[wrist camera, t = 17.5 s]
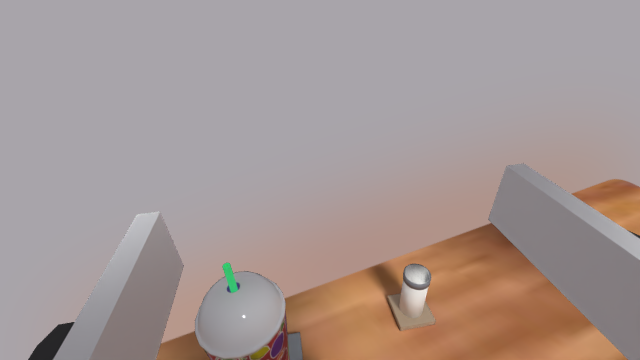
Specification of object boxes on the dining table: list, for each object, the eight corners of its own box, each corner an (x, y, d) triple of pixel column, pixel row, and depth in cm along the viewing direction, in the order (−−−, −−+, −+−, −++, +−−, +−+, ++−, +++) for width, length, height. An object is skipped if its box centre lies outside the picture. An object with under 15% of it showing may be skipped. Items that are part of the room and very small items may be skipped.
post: (418, 293, 45) (426, 256, 40) (434, 324, 41) (445, 286, 36) (387, 299, 44) (391, 262, 40) (400, 330, 40) (406, 293, 36)
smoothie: (224, 359, 37) (174, 246, 27) (287, 335, 40) (265, 221, 29) (231, 438, 31) (169, 329, 20) (307, 403, 33) (288, 288, 22)
